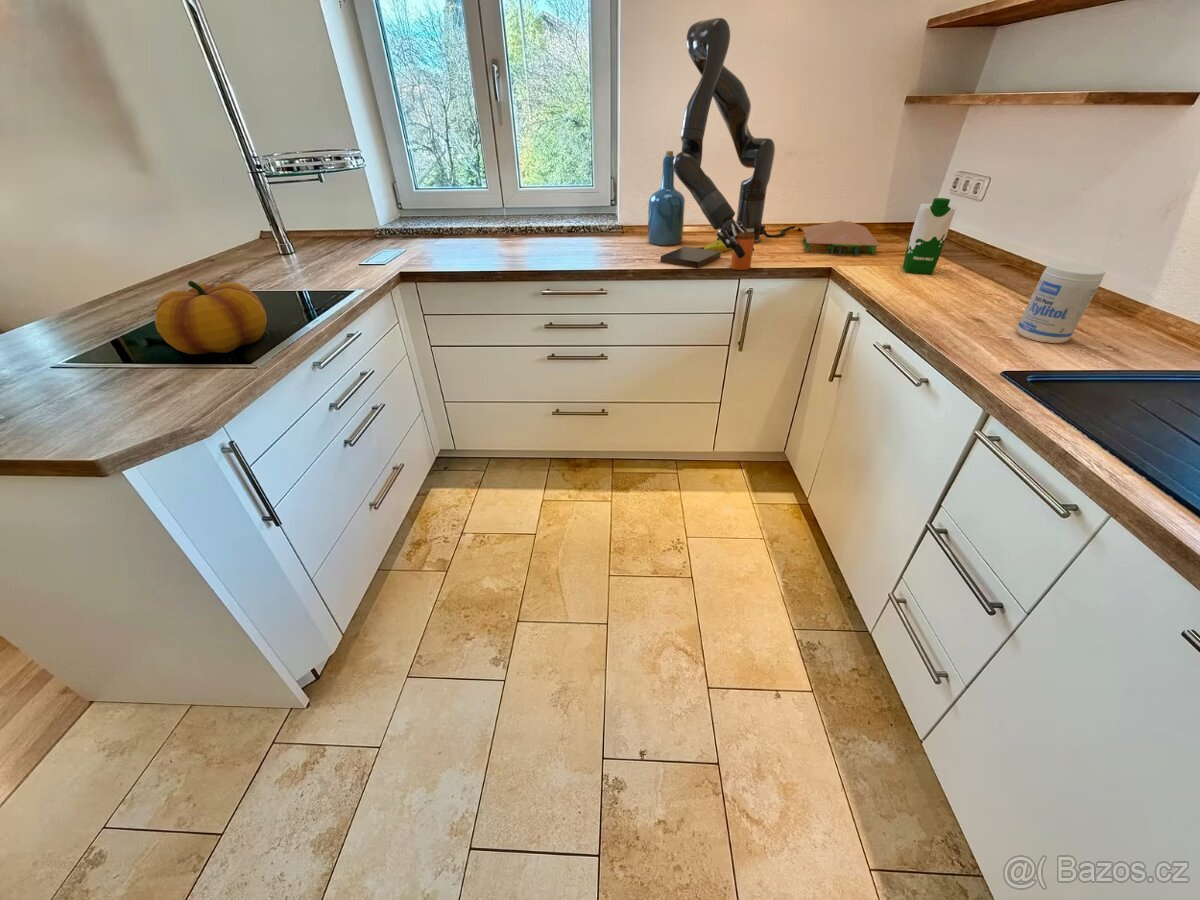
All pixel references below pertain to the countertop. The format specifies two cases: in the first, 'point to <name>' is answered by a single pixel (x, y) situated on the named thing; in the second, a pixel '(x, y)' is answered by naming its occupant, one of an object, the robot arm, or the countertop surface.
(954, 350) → the countertop surface
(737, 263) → the tin
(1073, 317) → the supplement tub
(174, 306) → the decorative pumpkin
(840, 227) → the house
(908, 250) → the milk carton
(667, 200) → the wine bottle
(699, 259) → the board
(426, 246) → the countertop surface
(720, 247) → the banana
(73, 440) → the countertop surface
